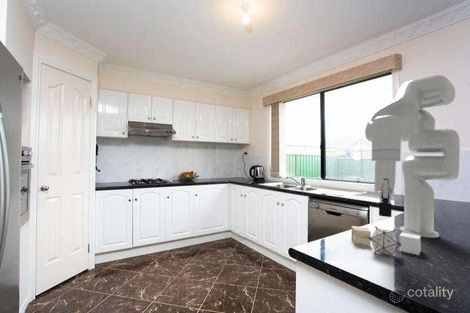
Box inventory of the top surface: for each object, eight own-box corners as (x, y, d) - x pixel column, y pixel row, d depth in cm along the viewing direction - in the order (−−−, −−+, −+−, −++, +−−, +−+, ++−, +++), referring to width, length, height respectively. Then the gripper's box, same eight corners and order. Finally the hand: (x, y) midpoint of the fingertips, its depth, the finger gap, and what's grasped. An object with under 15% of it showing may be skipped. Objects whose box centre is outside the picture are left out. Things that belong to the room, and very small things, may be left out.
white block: (401, 247, 79) (401, 232, 79) (420, 251, 75) (420, 235, 76) (399, 251, 75) (399, 235, 75) (419, 255, 72) (419, 239, 72)
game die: (387, 269, 69) (385, 248, 65) (363, 250, 77) (360, 229, 72) (409, 253, 71) (409, 231, 66) (383, 235, 78) (382, 215, 74)
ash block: (351, 239, 85) (351, 226, 85) (366, 241, 84) (367, 227, 84) (354, 244, 80) (354, 229, 80) (370, 246, 79) (370, 231, 79)
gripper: (372, 157, 80) (371, 210, 80) (370, 155, 68) (369, 219, 67) (399, 157, 76) (398, 213, 76) (402, 155, 64) (401, 223, 63)
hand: (385, 215), depth 72 cm, fingers closed
